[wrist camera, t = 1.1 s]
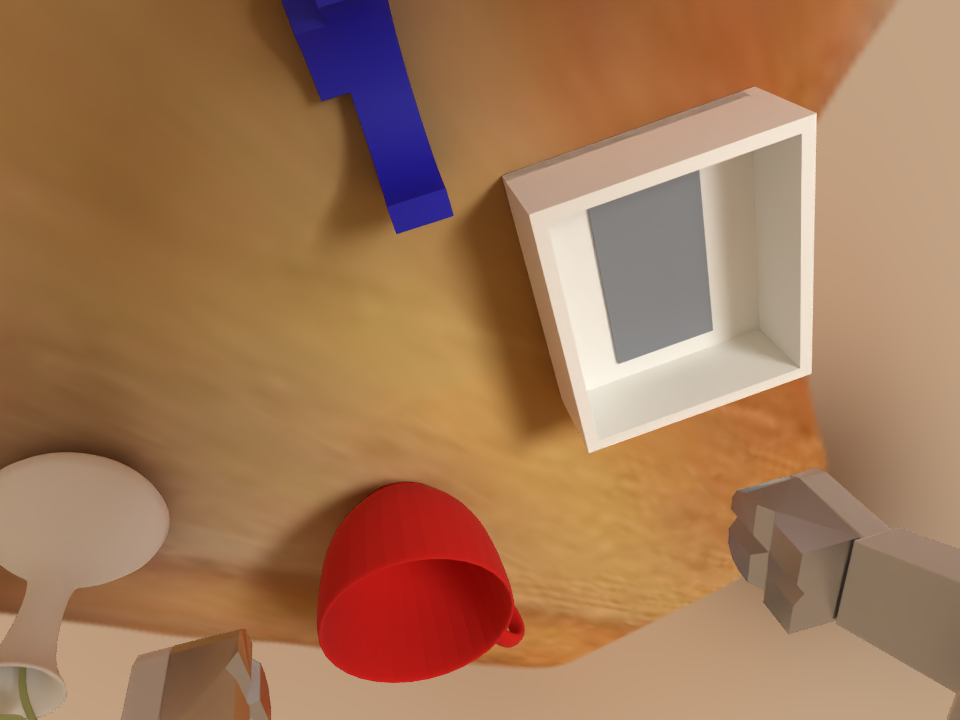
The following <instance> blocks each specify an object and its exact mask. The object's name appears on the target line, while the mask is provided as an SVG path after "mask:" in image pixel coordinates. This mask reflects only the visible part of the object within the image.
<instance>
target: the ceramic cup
mask: <svg viewBox="0 0 960 720" xmlns="http://www.w3.org/2000/svg"><path fill="white" fill-rule="evenodd" d="M507 628H509V631H510V632H509V631H507ZM317 630H318V637H319V644H320V646H321V648H322V650H323V652H324V654H325V656H326V657H327V658H328V659H329V660H330V661H331V662H332V663H333V664H334V665H335V666H336V667H338V668H339V669H341V670H343V671H344V672H346V673H348V674H350V675H353V676H356V677H358V678H361V679H366V680H371V681H376V682H389V683H399V682H413V681H419V680H425V679H430V678H434V677H437V676H440V675H444V674H447V673H449V672H452V671H454V670H457V669H459V668H461V667H463V666H465V665H467V664H469V663H471V662H472V661H474V660H476V659H478V658H479V657H480V656H482V655H483V654H484V653H486V652H487V651H488V650H490V649H491V648H492V647H493V646H494V645H495V644H498V645H500V646H503V647H508V648H509V647H513V646H515V645H517V644H518V643H519V642H520V641H521V640H522V638H523V636H524V631H525V629H524V623H523V620H522V618H521V616H520V614H519V612H518V610H517V609H516V607H515V606H514V599H513V595H512V590H511V586H510V583H509V580H508V577H507V574H506V572H505V569H504V567H503V564H502V562H501V559H500V557H499V555H498V552H497V550H496V548H495V546H494V544H493V542H492V541H491V539H490V537H489V535H488V533H487V532H486V530H485V528H484V527H483V525H482V524H481V522H480V521H479V520H478V519H477V517H476V516H475V515H474V514H473V513H472V512H471V511H470V510H469V509H468V508H467V507H466V506H465V505H464V504H463V503H461V502H460V501H459V500H457V499H455V498H454V497H452V496H451V495H449V494H447V493H445V492H443V491H441V490H438V489H435V488H432V487H429V486H426V485H424V484H420V483H415V482H400V483H394V484H390V485H387V486H384V487H382V488H380V489H378V490H376V491H375V492H373V493H372V494H371V495H370V496H368V497H367V498H366V499H364V500H363V501H362V502H361V503H359V504H358V505H357V506H356V507H355V508H354V509H353V510H352V511H351V512H350V513H349V514H348V515H347V516H346V518H345V519H344V520H343V522H342V523H341V524H340V526H339V527H338V529H337V531H336V532H335V535H334V537H333V539H332V541H331V543H330V546H329V548H328V550H327V553H326V556H325V560H324V565H323V570H322V576H321V582H320V588H319V597H318V610H317Z"/></svg>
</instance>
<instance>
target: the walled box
mask: <svg viewBox="0 0 960 720" xmlns="http://www.w3.org/2000/svg"><path fill="white" fill-rule="evenodd" d="M816 118H817V113H815V112H813V111H810V110H808V109H806V108H803V107H801V106H799V105H796V104H794V103H792V102H789V101H787V100H785V99H782V98H780V97H778V96H776V95H773V94H771V93H769V92H766V91H764V90H762V89H759V88H757V87H752V88H749V89H746V90H743V91H741V92H738V93H735V94H732V95H729V96H726V97H724V98H721V99H718V100H715V101H712V102H709V103H707V104H704V105H701V106H698V107H695V108H692V109H689V110H687V111H684V112H681V113H678V114H675V115H672V116H670V117H667V118H664V119H661V120H658V121H655V122H653V123H650V124H647V125H644V126H641V127H638V128H636V129H633V130H630V131H627V132H624V133H621V134H619V135H616V136H613V137H610V138H607V139H604V140H601V141H599V142H596V143H593V144H590V145H587V146H584V147H582V148H579V149H576V150H573V151H570V152H567V153H565V154H562V155H559V156H556V157H553V158H550V159H548V160H545V161H542V162H539V163H536V164H533V165H530V166H528V167H525V168H522V169H519V170H516V171H513V172H511V173H508V174H505V175H502V178H503V182H504V186H505V190H506V193H507V197H508V201H509V205H510V208H511V212H512V216H513V220H514V223H515V227H516V231H517V234H518V238H519V242H520V246H521V249H522V253H523V257H524V261H525V264H526V268H527V272H528V276H529V279H530V283H531V287H532V290H533V294H534V298H535V302H536V305H537V309H538V313H539V317H540V320H541V324H542V328H543V332H544V335H545V339H546V343H547V346H548V350H549V354H550V358H551V361H552V365H553V369H554V373H555V376H556V380H557V384H558V388H559V391H560V395H561V399H562V401H563V403H564V405H565V407H566V409H567V411H568V413H569V415H570V417H571V419H572V421H573V423H574V425H575V427H576V429H577V430H578V432H579V434H580V436H581V438H582V440H583V442H584V444H585V446H586V448H587V450H588V452H589V453H591V452H594V451H596V450H599V449H602V448H605V447H607V446H610V445H613V444H616V443H619V442H621V441H624V440H627V439H630V438H633V437H635V436H638V435H641V434H644V433H647V432H649V431H652V430H655V429H658V428H661V427H663V426H666V425H669V424H672V423H675V422H677V421H680V420H683V419H686V418H689V417H691V416H694V415H697V414H700V413H703V412H705V411H708V410H711V409H714V408H717V407H719V406H722V405H725V404H728V403H731V402H733V401H736V400H739V399H742V398H745V397H747V396H750V395H753V394H756V393H759V392H761V391H764V390H767V389H770V388H773V387H775V386H778V385H781V384H784V383H787V382H789V381H792V380H795V379H798V378H801V377H803V376H806V375H809V374H811V373H812V321H813V271H814V217H815V169H816Z"/></svg>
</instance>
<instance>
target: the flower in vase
mask: <svg viewBox="0 0 960 720" xmlns="http://www.w3.org/2000/svg"><path fill="white" fill-rule="evenodd" d="M169 526H170V517H169V511H168V508H167V505H166V503H165V501H164V499H163V498H162V496H161V495H160V493H159V492H158V491H157V489H156V488H155V487H154V486H153V485H152V484H151V483H150V482H149V481H148V480H147V479H146V478H145V477H144V476H142V475H141V474H140V473H138V472H137V471H135V470H134V469H132V468H130V467H128V466H126V465H124V464H122V463H120V462H118V461H115V460H112V459H109V458H106V457H102V456H97V455H93V454H86V453H76V452H56V453H48V454H42V455H37V456H33V457H30V458H27V459H24V460H21V461H18V462H15V463H13V464H10V465H8V466H6V467H4V468H2V469H1V470H0V565H1V566H2V567H4V568H5V569H6V570H8V571H9V572H11V573H13V574H15V575H16V576H18V577H20V578H22V579H24V580H26V581H27V589H26V594H25V597H24V600H23V603H22V605H21V608H20V610H19V612H18V614H17V616H16V619H15V621H14V623H13V624H12V626H11V628H10V630H9V632H8V633H7V635H6V637H5V638H4V640H3V641H2V643H1V644H0V720H37V718H39V717H42V716H45V715H47V714H50V713H52V712H53V711H55V710H56V709H58V708H59V707H60V706H61V705H62V704H63V703H64V701H65V699H66V697H67V687H66V684H65V682H64V680H63V679H62V677H61V676H60V674H59V671H58V668H57V662H56V649H57V640H58V634H59V628H60V625H61V621H62V618H63V614H64V611H65V608H66V606H67V603H68V601H69V599H70V597H71V595H72V594H73V592H74V591H75V590H76V589H77V588H84V587H91V586H97V585H101V584H105V583H108V582H111V581H114V580H116V579H119V578H121V577H124V576H126V575H128V574H131V573H133V572H134V571H136V570H138V569H139V568H141V567H142V566H143V565H145V564H146V563H147V562H148V561H149V560H150V559H151V558H152V557H153V556H154V555H155V554H156V553H157V551H158V550H159V549H160V547H161V546H162V545H163V543H164V541H165V539H166V537H167V535H168V531H169Z"/></svg>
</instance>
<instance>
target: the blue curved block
mask: <svg viewBox="0 0 960 720" xmlns="http://www.w3.org/2000/svg"><path fill="white" fill-rule="evenodd" d="M282 3H283V6H284V8H285V11H286V14H287V16H288V19H289V22H290V24H291V27H292V30H293V33H294V35H295V37H296V40H297V42H298V44H299V46H300V49H301V51H302V53H303V56H304V58H305V60H306V63H307V65H308V68H309V70H310V73H311V75H312V78H313V80H314V83H315V85H316V88H317V91H318V93H319V96H320V99H321V101H324V100H327V99H330V98H333V97H337V96H340V95H343V94H346V93H349V92H350V93H351V96H352V99H353V102H354V105H355V108H356V111H357V114H358V117H359V120H360V123H361V126H362V129H363V132H364V135H365V138H366V141H367V144H368V147H369V150H370V153H371V156H372V159H373V162H374V165H375V169H376V172H377V175H378V178H379V181H380V185H381V188H382V191H383V195H384V198H385V202H386V205H387V209H388V211H389V214H390V217H391V220H392V223H393V226H394V229H395V232H396V234H398V233H401V232H405V231H408V230H411V229H414V228H417V227H420V226H423V225H426V224H430V223H433V222H436V221H439V220H442V219H445V218H448V217H451V216H454V215H453V212H452V208H451V205H450V202H449V198H448V195H447V191H446V188H445V186H444V183H443V181H442V178H441V176H440V173H439V171H438V168H437V165H436V162H435V160H434V157H433V154H432V151H431V148H430V145H429V142H428V139H427V136H426V133H425V130H424V127H423V124H422V121H421V118H420V115H419V111H418V108H417V105H416V102H415V99H414V95H413V92H412V89H411V85H410V82H409V79H408V75H407V72H406V68H405V65H404V61H403V58H402V54H401V51H400V47H399V43H398V40H397V36H396V32H395V28H394V24H393V20H392V16H391V12H390V8H389V3H388V0H282Z"/></svg>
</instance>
